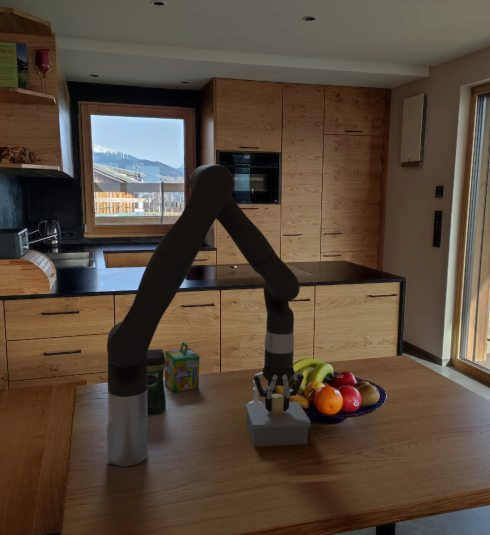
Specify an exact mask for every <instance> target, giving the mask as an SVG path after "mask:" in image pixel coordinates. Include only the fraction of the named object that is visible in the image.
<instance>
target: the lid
mask: <svg viewBox="0 0 490 535" xmlns="http://www.w3.org/2000/svg"><path fill="white" fill-rule="evenodd" d="M283 395H284V394H280V393H272V396H271V399H272V404H271V412H268V410H266V408H265V402H262V403H249V402H248V403H245V404H244V408H245V411H246V415H247V414H248V417H249V420H250V422H251V425H252V428H253V429H262V428H283V427H305V426H308V427H311V426H312V422H311V420H310V418H309V416H308V415H307V414H306V412H305V410H304V409H303V407H302V406H301V404H300V403H299V401H289V409H287V411H284V396H283Z"/></svg>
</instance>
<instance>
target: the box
mask: <svg viewBox="0 0 490 535" xmlns="http://www.w3.org/2000/svg"><path fill="white" fill-rule="evenodd" d="M246 427H247V431H248V433H249V436H250V439H251V442H252V445H253V447H274V446H275V447H277V446H292V445H308V442H309V426H305V427H283V428H262V429H253V428H252V425H251V422H250V420H249V417H248V414H247V413H246Z"/></svg>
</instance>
